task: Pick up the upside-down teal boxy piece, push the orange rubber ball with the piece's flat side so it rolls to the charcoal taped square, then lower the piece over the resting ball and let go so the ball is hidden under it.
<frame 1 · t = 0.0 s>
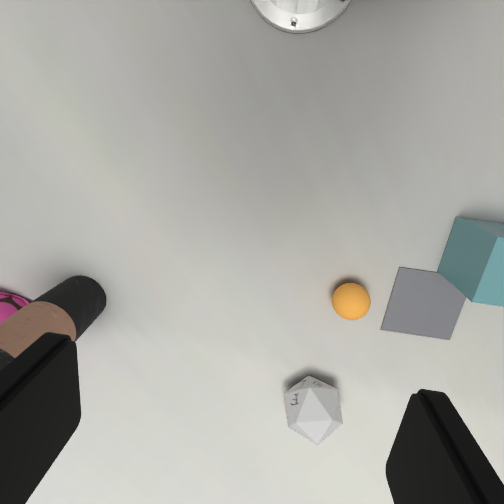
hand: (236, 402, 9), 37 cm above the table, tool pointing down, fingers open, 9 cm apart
pencil case: (7, 341, 56), on the table
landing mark: (424, 304, 48), on the table
teal boxy piece: (475, 249, 44), on the table
ball: (351, 301, 46), on the table
die: (310, 389, 54), on the table
travel mug: (84, 295, 52), on the table
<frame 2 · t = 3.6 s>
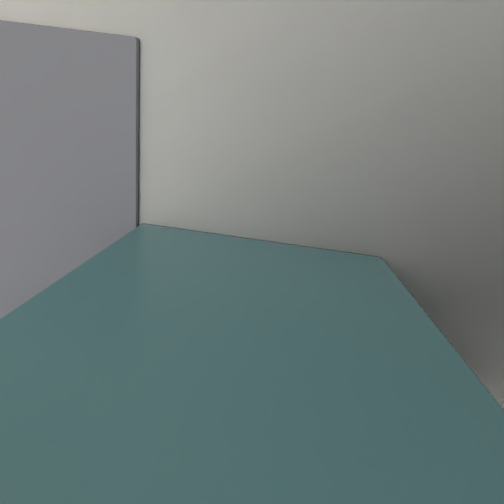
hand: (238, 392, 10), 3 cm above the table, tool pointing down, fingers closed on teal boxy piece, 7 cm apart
teal boxy piece: (246, 341, 12), on the table, touching gripper
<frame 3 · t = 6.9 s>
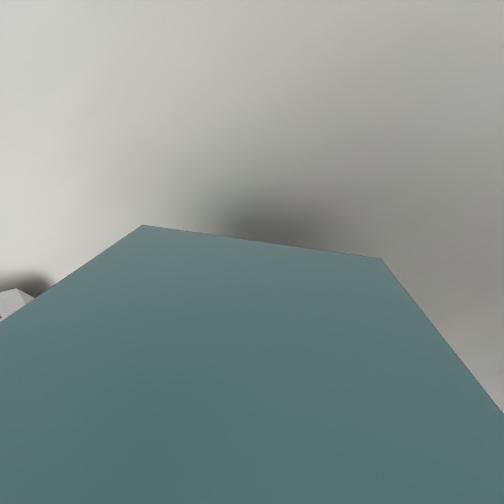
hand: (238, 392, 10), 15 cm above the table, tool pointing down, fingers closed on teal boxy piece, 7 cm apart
teal boxy piece: (246, 342, 12), point 13 cm above the table, touching gripper
die: (38, 319, 28), on the table
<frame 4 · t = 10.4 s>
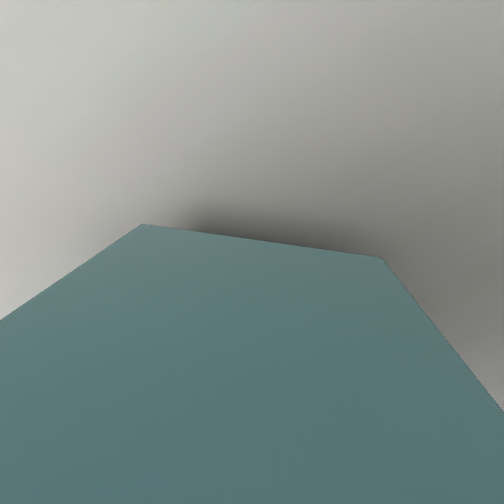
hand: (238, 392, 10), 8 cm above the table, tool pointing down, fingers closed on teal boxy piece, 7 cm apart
teal boxy piece: (246, 341, 12), point 5 cm above the table, touching gripper
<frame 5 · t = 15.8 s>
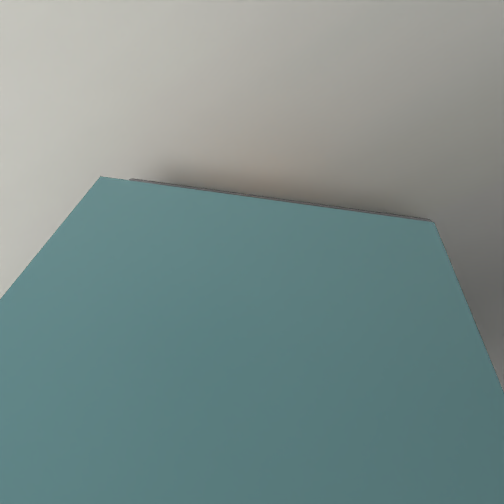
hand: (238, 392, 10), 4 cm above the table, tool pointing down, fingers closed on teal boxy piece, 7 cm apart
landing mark: (258, 326, 13), on the table
teal boxy piece: (251, 300, 10), point 2 cm above the table, tilted 25°, touching ball, gripper
when the fingers open (3 cm above the table, at t = 16.5 s): teal boxy piece drops 2 cm, on the table.
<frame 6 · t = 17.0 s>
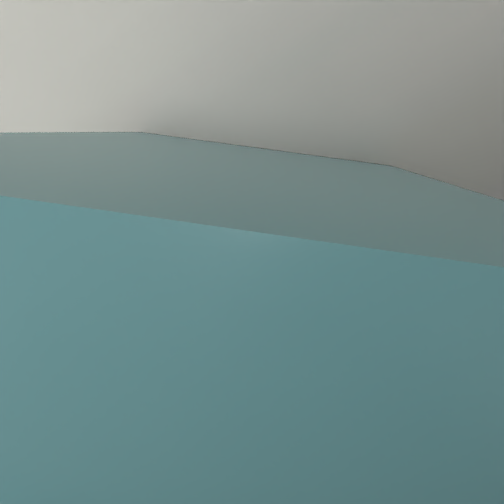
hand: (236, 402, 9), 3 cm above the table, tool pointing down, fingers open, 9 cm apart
teal boxy piece: (248, 265, 12), on the table
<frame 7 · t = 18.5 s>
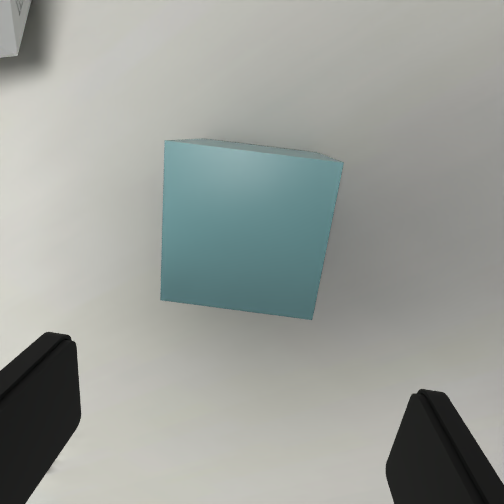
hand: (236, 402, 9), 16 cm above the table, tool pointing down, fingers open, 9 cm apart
teal boxy piece: (253, 201, 24), on the table
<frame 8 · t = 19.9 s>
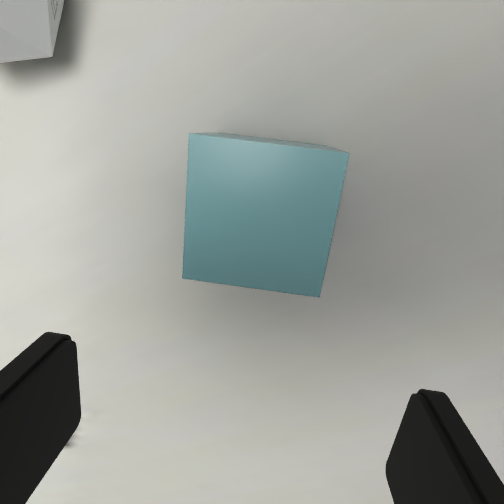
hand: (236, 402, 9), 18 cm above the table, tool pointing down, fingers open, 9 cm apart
teal boxy piece: (265, 192, 26), on the table
die: (28, 6, 23), on the table
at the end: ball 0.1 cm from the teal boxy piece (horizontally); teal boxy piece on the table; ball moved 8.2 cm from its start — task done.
